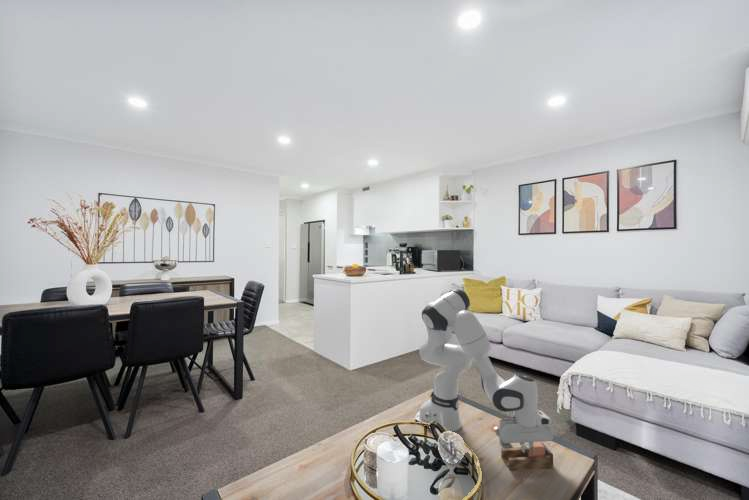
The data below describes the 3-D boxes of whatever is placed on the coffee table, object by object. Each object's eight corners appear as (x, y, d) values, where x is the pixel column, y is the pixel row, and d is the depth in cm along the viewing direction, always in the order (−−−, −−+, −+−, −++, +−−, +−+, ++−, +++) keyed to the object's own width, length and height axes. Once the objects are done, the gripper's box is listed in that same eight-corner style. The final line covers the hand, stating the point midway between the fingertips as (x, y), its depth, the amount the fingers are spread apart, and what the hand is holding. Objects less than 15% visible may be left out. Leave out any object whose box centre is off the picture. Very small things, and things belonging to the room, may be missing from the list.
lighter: (507, 441, 134) (507, 423, 134) (510, 443, 133) (509, 425, 133) (493, 444, 132) (493, 426, 132) (496, 447, 131) (496, 428, 131)
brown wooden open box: (510, 470, 117) (509, 456, 117) (501, 458, 124) (501, 445, 124) (553, 468, 118) (553, 454, 118) (542, 456, 125) (542, 442, 125)
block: (532, 463, 119) (532, 448, 119) (527, 457, 123) (527, 442, 123) (545, 462, 119) (544, 447, 119) (540, 456, 123) (539, 441, 123)
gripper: (503, 422, 117) (504, 458, 117) (555, 419, 118) (556, 455, 118) (496, 413, 123) (496, 447, 123) (545, 411, 124) (546, 445, 124)
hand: (526, 451), depth 121 cm, fingers closed
